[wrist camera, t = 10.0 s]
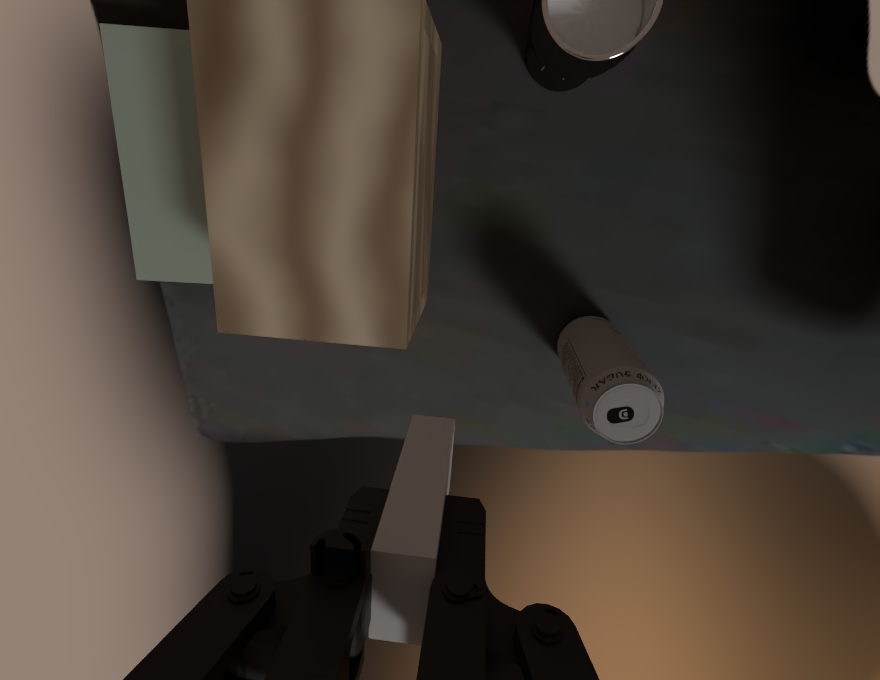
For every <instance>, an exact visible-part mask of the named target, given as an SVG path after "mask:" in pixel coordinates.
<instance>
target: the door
mask: <svg viewBox="0 0 880 680" xmlns="http://www.w3.org/2000/svg"><path fill="white" fill-rule="evenodd" d="M99 25H100V32H101V39H102V45H103V52H104V59H105V66H106V73H107V79H108V86H109V93H110V100H111V107H112V114H113V120H114V126H115V134H116V141H117V147H118V154H119V161H120V168H121V175H122V181H123V188H124V195H125V201H126V209H127V216H128V222H129V229H130V236H131V242H132V250H133V256H134V263H135V270H136V277H137V280H150V281H168V282H187V283H206V284H213V276H212V265H211V254H210V244H209V233H208V222H207V212H206V201H205V190H204V180H203V169H202V158H201V148H200V137H199V126H198V116H197V105H196V94H195V84H194V73H193V62H192V52H191V41H190V30H179V29H166V28H154V27H141V26H128V25H116V24H103V23H99Z"/></svg>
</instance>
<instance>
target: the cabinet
mask: <svg viewBox="0 0 880 680" xmlns="http://www.w3.org/2000/svg"><path fill="white" fill-rule="evenodd" d="M187 9H188V20H189V30H190V41H191V52H192V62H193V73H194V84H195V94H196V105H197V116H198V126H199V137H200V148H201V158H202V169H203V180H204V190H205V201H206V212H207V222H208V233H209V244H210V254H211V265H212V276H213V286H214V297H215V307H216V318H217V329H218V332H220V333H231V334H242V335H253V336H264V337H275V338H286V339H297V340H308V341H319V342H331V343H342V344H353V345H364V346H375V347H386V348H397V349H406V348H407V346H408V344H409V341H410V339H411V337H412V334H413V332H414V330H415V327H416V325H417V322H418V320H419V318H420V315H421V313H422V311H423V308H424V306H425V304H426V301H427V296H428V279H429V261H430V243H431V226H432V208H433V190H434V173H435V155H436V137H437V120H438V102H439V84H440V67H441V49H442V44H441V41H440V38H439V35H438V33H437V30H436V27H435V24H434V22H433V19H432V16H431V13H430V11H429V8H428V5H427V3H426V0H187Z"/></svg>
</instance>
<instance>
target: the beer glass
mask: <svg viewBox="0 0 880 680" xmlns="http://www.w3.org/2000/svg"><path fill="white" fill-rule="evenodd" d="M663 1H664V0H534V1H533V5H532V11H531V17H530V34H529V37H528V40H527V44H526V63H527V67H528V69H529V72H530V74H531V75H532V77H533V78H534V80H535V81H536V82H537V83H538V84H540V85H541V86H542V87H544V88H546V89H548V90H552V91H558V92H561V91H568V90H571V89H574V88H576V87H578V86H580V85H581V84H583V83H584V82H585V81H586V80H587V79H589V78H593V77H596V76H598V75H601V74H603V73H605V72H606V71H608V70H610V69H611V68H613V67H615V66H616V65H617V64H619V63H620V62H621V61H622V60H623V59H624V58H625V57H627V56H628V55H629V54H630V53H631V52H632V50H633V49H634V48H635V47H636V46H637V45H638V43H639V42H640V41H641V40H642V39H643V38H644V37H645V36H646V35H647V34H648V32H649V31H650V30H651V28H652V27H653V25H654V23H655V21H656V19H657V17H658V15H659V13H660V10H661V7H662V4H663Z"/></svg>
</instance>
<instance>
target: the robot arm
mask: <svg viewBox="0 0 880 680" xmlns="http://www.w3.org/2000/svg"><path fill="white" fill-rule="evenodd" d="M454 429H455V419H450V418H440V417H431V416H422V415H413V416H412V420H411V423H410V426H409V429H408V433H407V436H406V439H405V442H404V445H403V449H402V452H401V455H400V458H399V462H398V465H397V468H396V472H395V475H394V478H393V481H392V484H391V487H390V490H389V489H381V488H380V489H379V488H372V487H363V486H362V487H361V488H360V489H359V490H358V491H357V492H356V493H354V494H353V495H352V496H351V498H350V500H349V503H348V505H347V507H346V511H345V513H344V515H343V517H342V521H341V522H340V524H339V526H338V529H332V530H329V531H325V532H323V533H322V534H320V535H319V536H317V537H316V538H315V539H314V540H313V542H312V543H311V545H310V551H311V573H310V574H308V575H305V576H303V577H300V578H296V579H291V580H284V581H277V582H274V580H273V578H272V576H271V574H270V573H268V572H267V571H265V570H263V569H259V568H245V569H240V570H237V571H235V572H233V573H230V574H229V575H227V576H226V577H225V578H223V579H222V580H221V581H220V582H219V583H218V584H217V585H216V586H215V587H214V588H213V589H212V590H211V591H210V592H209V593H208V594H207V595H206V596H205V597H204V598H203V599H202V600H201V601H200V602H199V603H198V604H197V605H196V606H195V607H194V608H193V609H192V610H191V611H190V612H189V613H188V614H187V615H186V616H185V617H184V618H183V619H182V620H181V621H180V622H179V623H178V624H177V625H176V626H175V627H174V628H173V629H172V631H170V632H169V633H168V634H167V636H166V637H164V638H163V639H162V640H161V641H160V642H159V644H158V645H157V646H156V647H155V648H154V649H153V650H152V651H151V652H150V653H149V654H148V655H147V656H146V657H145V658H144V659H143V660H142V661H141V662H140V663H139V664H138V665H137V666H136V667H135V668H134V669H133V670H132V671H131V672H130V673H129V674H128V675H127V676H126V677H125V678H124V679H123V680H359V678H360V674H361V670H362V666H363V662H364V646H365V644H364V643H365V640H366V636H367V632H368V629H369V638H372V639H379V640H386V641H393V642H401V643H408V644H416V645H422V647H421V653H420V660H419V667H418V673H417V680H599V678H598V676H597V673H596V671H595V669H594V667H593V664H592V662H591V660H590V658H589V655H588V653H587V651H586V649H585V647H584V644H583V642H582V640H581V638H580V636H579V633H578V631H577V629H576V626H575V625H574V623H573V622H572V620H571V619H570V618H569V616H567V615H566V614H565V613H564V612H562V611H561V610H560V609H558V608H556V607H553V606H551V605H548V604H538V603H536V604H532V605H529V606H526V607H525V608H524V609H523V610H521V611H518V610H516V609H514V608H511V607H509V606H507V605H505V604H503V603H502V602H500V601H499V600H498V599H496V598H495V597H494V596H493V595H492V593H491V592H490V591H489V589H488V587H487V585H486V581H485V533H486V528H485V525H486V511H485V509H484V507H483V505H482V504H481V502H480V500H479V499H476V498H468V497H459V496H451V495H448V493H449V486H450V474H451V462H452V452H453V440H454Z"/></svg>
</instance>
